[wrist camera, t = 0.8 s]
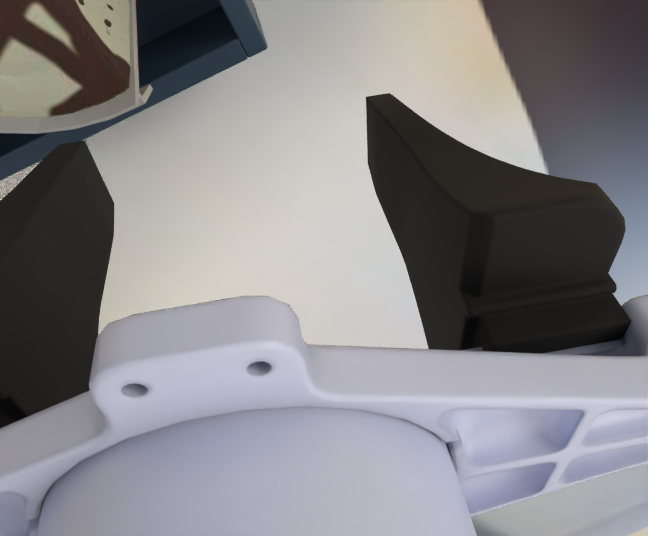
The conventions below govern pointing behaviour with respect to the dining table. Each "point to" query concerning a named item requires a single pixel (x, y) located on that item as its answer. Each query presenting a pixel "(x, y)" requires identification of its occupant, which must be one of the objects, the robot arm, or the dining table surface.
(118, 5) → the food container
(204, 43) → the tote
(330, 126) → the dining table surface
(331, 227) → the dining table surface
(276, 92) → the dining table surface
